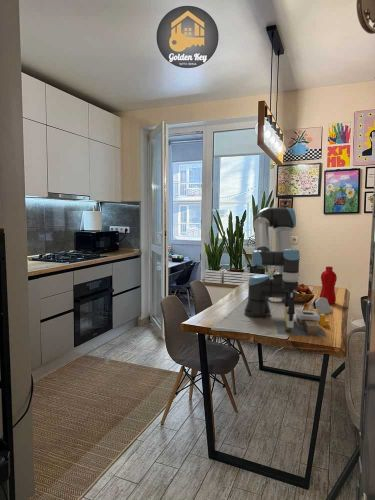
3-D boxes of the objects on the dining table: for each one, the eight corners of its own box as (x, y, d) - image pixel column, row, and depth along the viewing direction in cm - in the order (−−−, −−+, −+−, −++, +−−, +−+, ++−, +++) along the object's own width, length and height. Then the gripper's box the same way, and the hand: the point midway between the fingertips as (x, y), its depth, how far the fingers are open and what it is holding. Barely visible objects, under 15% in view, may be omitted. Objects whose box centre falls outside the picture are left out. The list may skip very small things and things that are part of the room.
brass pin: (284, 332, 170) (285, 308, 169) (283, 330, 173) (284, 306, 172) (292, 333, 169) (293, 309, 168) (291, 330, 173) (292, 307, 172)
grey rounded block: (321, 316, 203) (316, 299, 204) (314, 317, 206) (309, 300, 208) (333, 311, 215) (328, 295, 216) (325, 312, 218) (321, 296, 219)
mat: (278, 334, 168) (278, 334, 168) (274, 321, 190) (274, 320, 190) (326, 338, 164) (326, 337, 164) (316, 324, 187) (316, 323, 187)
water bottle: (329, 300, 243) (331, 265, 241) (337, 304, 232) (339, 267, 230) (316, 300, 243) (318, 265, 240) (323, 304, 232) (325, 267, 229)
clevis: (301, 334, 167) (302, 320, 166) (295, 322, 187) (296, 309, 186) (323, 336, 165) (324, 322, 165) (315, 323, 185) (315, 311, 185)
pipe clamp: (328, 327, 182) (329, 315, 182) (320, 326, 182) (320, 315, 182) (319, 320, 194) (319, 309, 194) (311, 320, 194) (312, 309, 194)
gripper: (302, 285, 156) (300, 331, 158) (294, 277, 181) (293, 317, 182) (285, 284, 157) (283, 330, 159) (280, 276, 182) (278, 316, 184)
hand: (288, 323), depth 171 cm, fingers open, 13 cm apart
